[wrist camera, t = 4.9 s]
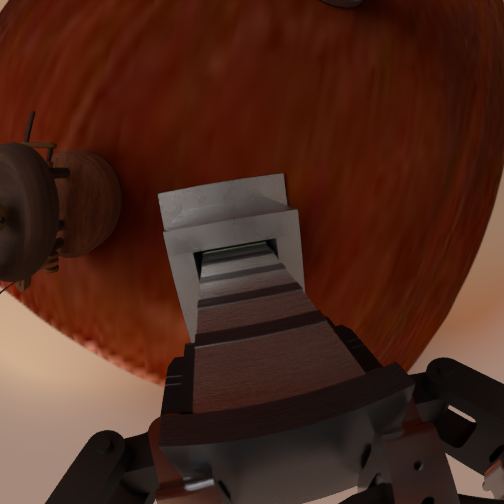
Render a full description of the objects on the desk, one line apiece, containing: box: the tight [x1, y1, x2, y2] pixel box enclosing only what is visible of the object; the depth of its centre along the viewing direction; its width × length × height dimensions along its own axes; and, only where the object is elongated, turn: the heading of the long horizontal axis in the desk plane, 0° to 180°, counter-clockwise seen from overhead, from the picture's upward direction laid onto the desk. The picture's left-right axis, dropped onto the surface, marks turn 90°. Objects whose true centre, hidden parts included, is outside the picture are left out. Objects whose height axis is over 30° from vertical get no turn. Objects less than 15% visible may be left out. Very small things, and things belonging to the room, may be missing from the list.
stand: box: [158, 173, 305, 343], centre depth 21 cm, size 12×12×12 cm
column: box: [158, 240, 416, 504], centre depth 14 cm, size 5×5×19 cm
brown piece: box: [0, 111, 122, 294], centre depth 14 cm, size 15×11×20 cm
